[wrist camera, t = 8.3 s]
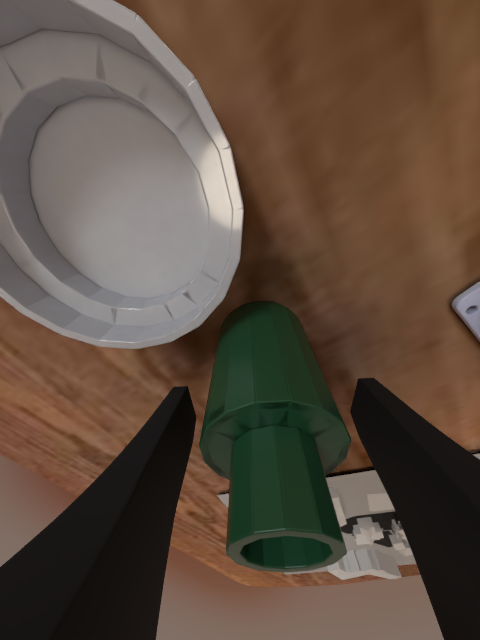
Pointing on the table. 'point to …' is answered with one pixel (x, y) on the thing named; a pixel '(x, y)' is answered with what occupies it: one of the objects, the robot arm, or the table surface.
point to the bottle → (274, 442)
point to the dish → (109, 178)
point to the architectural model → (365, 528)
